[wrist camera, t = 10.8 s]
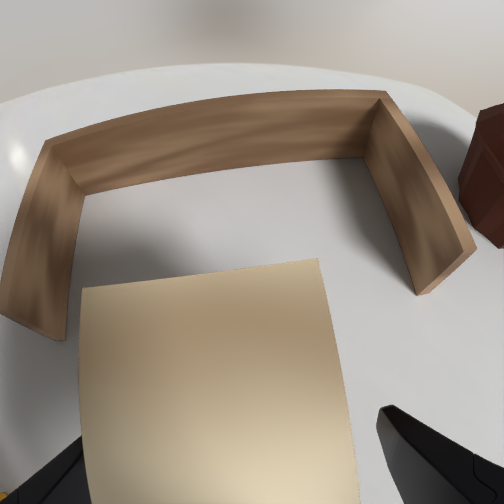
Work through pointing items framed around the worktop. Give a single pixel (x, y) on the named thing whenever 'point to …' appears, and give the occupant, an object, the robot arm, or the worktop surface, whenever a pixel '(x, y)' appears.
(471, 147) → the muffin
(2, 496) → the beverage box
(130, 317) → the ash block
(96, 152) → the u-shaped wooden wall
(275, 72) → the worktop surface
